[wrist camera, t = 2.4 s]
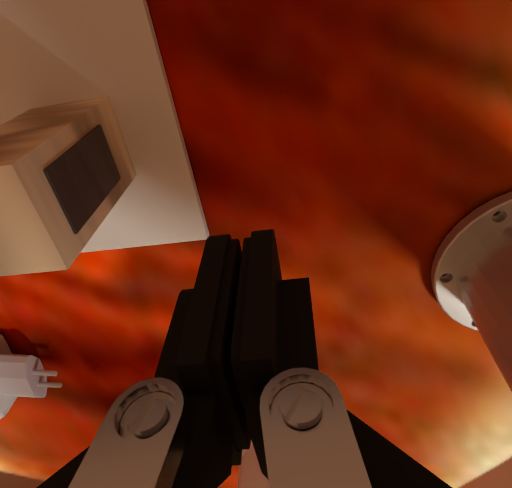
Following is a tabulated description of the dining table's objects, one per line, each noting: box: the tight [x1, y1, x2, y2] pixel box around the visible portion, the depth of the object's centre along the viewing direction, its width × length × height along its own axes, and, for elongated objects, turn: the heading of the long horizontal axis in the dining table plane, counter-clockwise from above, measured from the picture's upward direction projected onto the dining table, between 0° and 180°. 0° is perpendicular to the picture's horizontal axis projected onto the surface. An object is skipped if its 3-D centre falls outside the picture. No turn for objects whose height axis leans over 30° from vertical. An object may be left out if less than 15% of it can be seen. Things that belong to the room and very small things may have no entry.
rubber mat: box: [0, 0, 209, 253], centre depth 26 cm, size 24×16×1 cm, turn 99°
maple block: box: [0, 96, 137, 276], centre depth 21 cm, size 5×5×10 cm
